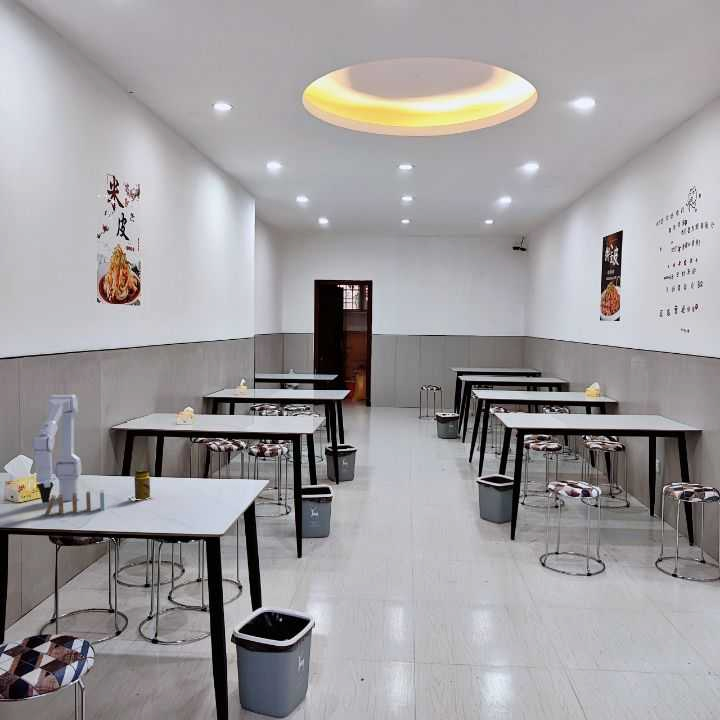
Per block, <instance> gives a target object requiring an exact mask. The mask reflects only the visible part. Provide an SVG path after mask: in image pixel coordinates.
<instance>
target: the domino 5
mask: <svg viewBox="0 0 720 720" xmlns="http://www.w3.org/2000/svg"><path fill="white" fill-rule="evenodd" d="M104 491H105V490H103V489H102V490H99V501H100V503H99V505H100V511H101V510H103V511H105V492H104Z"/></svg>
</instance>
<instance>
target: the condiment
mask: <svg viewBox="0 0 720 720" xmlns="http://www.w3.org/2000/svg"><path fill="white" fill-rule="evenodd" d="M134 472H135V476H134V497H135V498H136V499H146V498H149V497H151V485H150V483H151V481H150V475H149V474H150V473H149V469H147V468H140V469H136V470H135V471H134Z"/></svg>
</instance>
